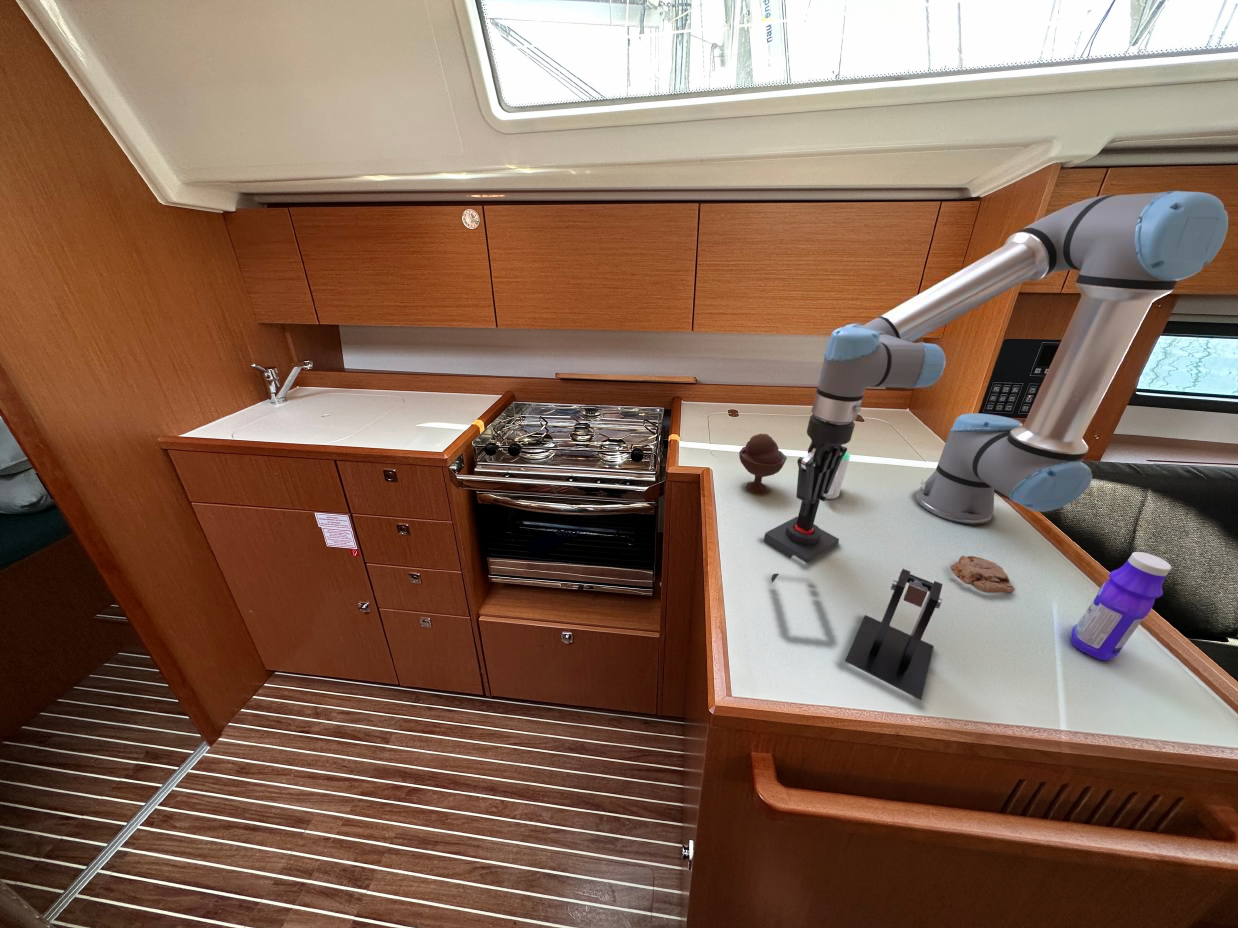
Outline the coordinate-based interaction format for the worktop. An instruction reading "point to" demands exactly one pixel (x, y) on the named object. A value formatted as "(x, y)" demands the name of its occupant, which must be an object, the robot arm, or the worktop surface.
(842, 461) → the mug
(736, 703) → the worktop surface
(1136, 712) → the worktop surface
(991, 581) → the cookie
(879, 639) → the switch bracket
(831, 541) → the dark grey base plate
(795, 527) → the stop button
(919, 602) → the switch lever
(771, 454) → the ice cream bowl
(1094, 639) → the bottle
